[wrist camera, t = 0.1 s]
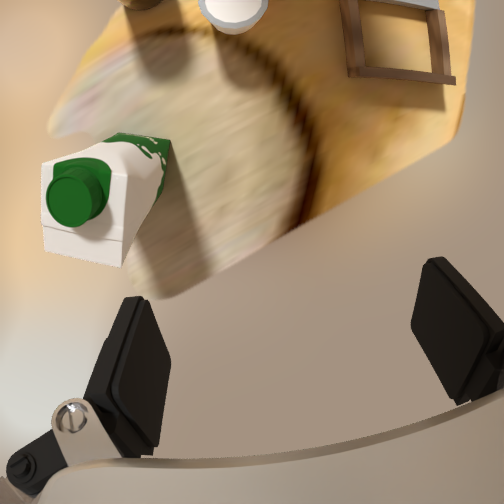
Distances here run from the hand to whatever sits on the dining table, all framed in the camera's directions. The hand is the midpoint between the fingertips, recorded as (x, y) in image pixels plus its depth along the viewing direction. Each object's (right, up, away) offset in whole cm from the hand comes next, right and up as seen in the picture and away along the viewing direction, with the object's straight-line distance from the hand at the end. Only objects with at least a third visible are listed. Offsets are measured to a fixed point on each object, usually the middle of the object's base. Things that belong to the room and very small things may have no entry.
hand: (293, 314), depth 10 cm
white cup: (-4, +30, +19) cm, 36 cm away
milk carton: (-16, +13, +28) cm, 34 cm away
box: (+17, +29, +21) cm, 39 cm away
